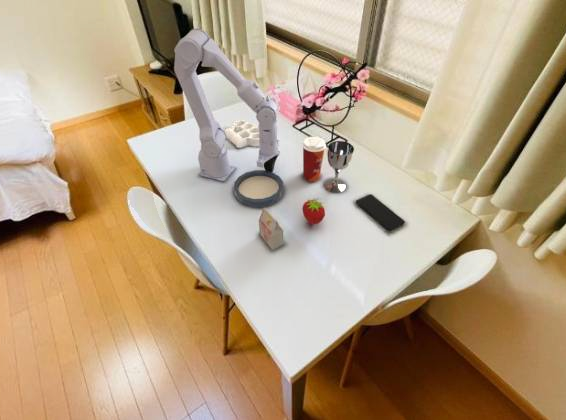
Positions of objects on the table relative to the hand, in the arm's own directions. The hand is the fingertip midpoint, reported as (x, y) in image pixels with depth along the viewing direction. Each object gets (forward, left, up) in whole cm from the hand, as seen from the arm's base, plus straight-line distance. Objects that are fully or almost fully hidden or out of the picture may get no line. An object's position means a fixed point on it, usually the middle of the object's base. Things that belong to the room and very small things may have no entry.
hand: (269, 172), depth 106 cm
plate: (0, -9, -1) cm, 9 cm away
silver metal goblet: (+23, +3, -1) cm, 23 cm away
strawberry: (+21, -17, -1) cm, 27 cm away
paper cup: (+14, +5, -1) cm, 15 cm away
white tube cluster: (-19, +20, -1) cm, 28 cm away
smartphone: (+39, -5, -1) cm, 39 cm away
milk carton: (+12, -27, -1) cm, 30 cm away
